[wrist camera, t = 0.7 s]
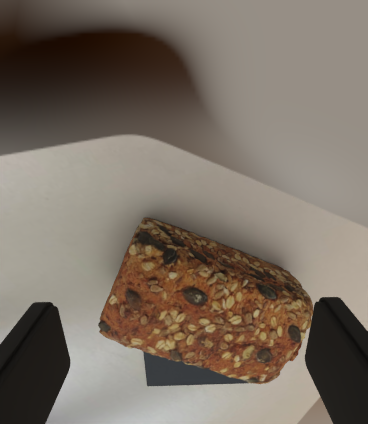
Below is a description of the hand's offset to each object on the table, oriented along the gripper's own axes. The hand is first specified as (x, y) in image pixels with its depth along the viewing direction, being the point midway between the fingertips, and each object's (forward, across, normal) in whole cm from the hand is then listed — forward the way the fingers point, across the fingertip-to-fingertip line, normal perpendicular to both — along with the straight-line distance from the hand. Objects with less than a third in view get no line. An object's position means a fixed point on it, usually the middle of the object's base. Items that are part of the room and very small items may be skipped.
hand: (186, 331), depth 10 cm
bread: (+20, -2, +11) cm, 22 cm away
